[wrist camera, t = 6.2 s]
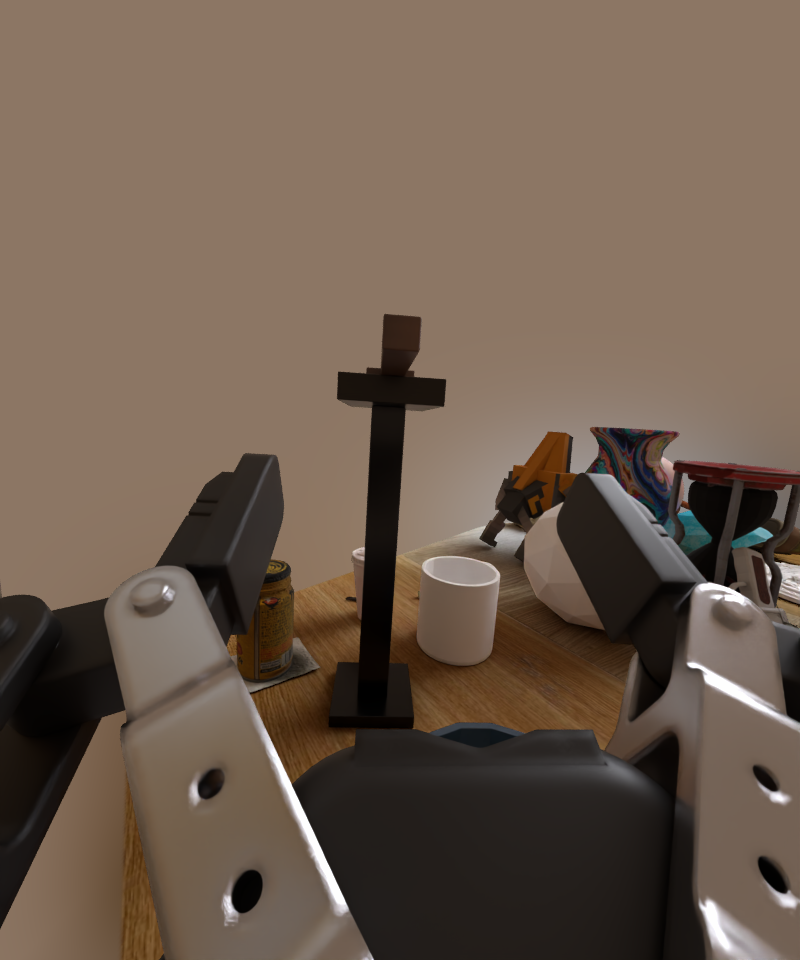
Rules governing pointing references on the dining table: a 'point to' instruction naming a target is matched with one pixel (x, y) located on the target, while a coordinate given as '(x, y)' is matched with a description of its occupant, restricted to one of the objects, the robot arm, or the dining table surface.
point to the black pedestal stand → (380, 553)
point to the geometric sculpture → (556, 573)
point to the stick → (351, 598)
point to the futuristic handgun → (755, 582)
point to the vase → (636, 465)
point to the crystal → (700, 536)
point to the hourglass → (733, 513)
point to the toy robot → (533, 487)
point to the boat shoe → (793, 544)
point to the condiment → (272, 635)
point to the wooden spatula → (399, 345)
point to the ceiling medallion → (788, 581)
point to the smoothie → (358, 576)
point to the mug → (457, 609)
